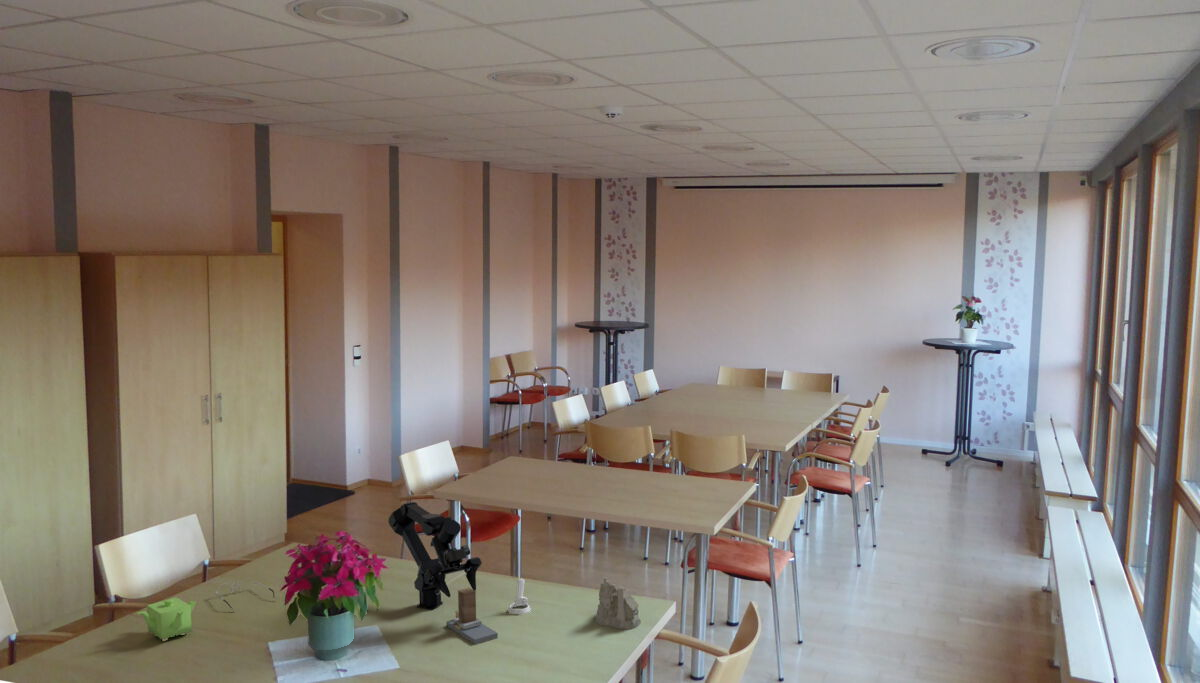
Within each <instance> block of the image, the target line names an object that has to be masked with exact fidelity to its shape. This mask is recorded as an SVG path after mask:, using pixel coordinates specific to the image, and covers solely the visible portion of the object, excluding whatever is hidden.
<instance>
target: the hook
mask: <svg viewBox="0 0 1200 683" xmlns="http://www.w3.org/2000/svg"><path fill="white" fill-rule="evenodd" d="M524 589H525V579H524V578H518V579H517V584H516V592H515V598H514V602H513V603H511V604H510V605H509V607H508V609H507V613H508V612H509V613H508V614H510V613H511V614H510V615H513V614H524V613H527V612H529V611H530V610H531V611H532V609H531V606H530V605H529V604H528V598H527V597H526V596H524ZM516 606H525V607H523V608H521V609H520V608H519V609H517V607H516ZM513 607H514V608H513ZM531 611H530V612H531ZM530 612H529V613H530ZM527 614H528V613H527ZM524 615H525V614H524Z"/></svg>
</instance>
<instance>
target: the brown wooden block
mask: <svg viewBox="0 0 1200 683" xmlns="http://www.w3.org/2000/svg"><path fill="white" fill-rule="evenodd" d="M476 592H477V591H476V590H473V589H472V587H467V588H462V589H458V590H457V594H458V596H457V600H458V605H457V606H458V610H459V618H456V617H455V618H453V619H454V623H455V624H457V625H458V626H460V627H461V628H463V629H468V628H472V627H475V626H479V625H481V623H482V620H481V619H479V618H477V601H476V600H477V599H476V598H477V596H476V595H477V594H476Z"/></svg>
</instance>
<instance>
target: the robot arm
mask: <svg viewBox="0 0 1200 683" xmlns="http://www.w3.org/2000/svg"><path fill="white" fill-rule="evenodd" d="M416 523H417V524H419V526H421V531H422V533H424V534H425V535H426V536H427V537H428V536H433V535H434V536H433V537H432V538H431V542H430V547H433V548H434V550H435V553H436V557H437V558H433V559H432V558H431V556H430V555H429V552H428V551H427V549H426V547H425V545H424V543H423V541H422V539H421V538H420V536H419V533H418V532H417V530H416V528H415V526H416ZM388 524H389V526H390V528H391V529H392V530H393V532H394V533H395V534H397V535H399V536H401V537H402V538H403V540H404V542H405V545H406V546H407V548H408V550H409V551H410V554H411V556H412V558H413V559H414V562H415V563H416V565H417V568H418V570H417V577H416V579H415V580H414V582H413V583H414V589H415V590H417V591H419V592H418V593H419V594H418V595H419V603H418V604H417V605H416V608H422V609H427V610H434V609H436V608H438V607H439V606H441V605H442V604H444V602H443V601H442V593H443V594H444V595H445V596H446V597H448V598H451V591H450V590H449V587H448V585H447V582H446V575H449V574H454V573H457V572H461V571H464V573H465V577H466V579H467V582H468V583H469V585H470V588H471V589H473V590H475V591H476V590H477V580H476V579H477V578H476V576H477V571H478V570H479V568H480V567H481V566H482V564H483V561H482V560H481V558H480V557H478V556H475V557H472V558H471V557H470V558H468V557H467V556H469V555H471V549H470V547H469V544H465V545H462V546H460V548H459V549H457V548H456V547H454V545H453V542H454V541H455V540H456V539H457V537H458V536H459V534H460V532H461V528H462V527H461V525H460V523H459V522H458V521H456V520H454V519H452V517H451V516H447V517H445V516H444V515H442V514H436V513H431V512H429V511H427V510H426V509H424V507H421V506H420V505H418V503H417V502H415V501H411V502H406V503H402V504H401V505H400V507H399V508H397V509H396V510H394V511H392V512H391V514H390V516H389V517H388ZM467 558H468V559H467ZM463 559H467V560H466V562H465V563H463V561H464V560H463ZM461 563H462V564H461Z"/></svg>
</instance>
